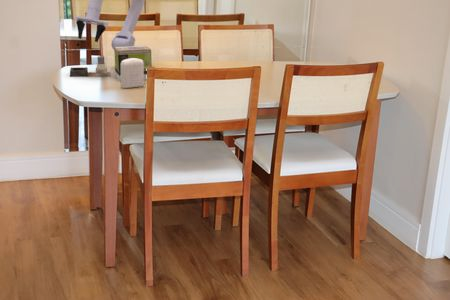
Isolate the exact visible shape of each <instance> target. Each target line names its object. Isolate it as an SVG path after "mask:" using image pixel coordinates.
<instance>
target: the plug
mask: <svg viewBox="0 0 450 300" xmlns="http://www.w3.org/2000/svg"><path fill="white" fill-rule="evenodd" d="M106 65H107V64H106V62H105V55H104V56H103V55H102V56H99V55H98V56H97V62H96V67H97V70H106V67H107V66H106Z"/></svg>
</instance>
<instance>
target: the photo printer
mask: <svg viewBox="0 0 450 300" xmlns="http://www.w3.org/2000/svg"><path fill="white" fill-rule="evenodd" d="M144 82H145V80H144V63H143V60H141V59H138V58H129V59H125V60H123V61H121V81H120V88H122V89H129V88H139V87H144V85H145V83H144Z"/></svg>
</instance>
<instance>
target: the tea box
mask: <svg viewBox="0 0 450 300" xmlns="http://www.w3.org/2000/svg"><path fill="white" fill-rule="evenodd" d="M113 50H114V51H113V52H114V72H115V77H116V79H117V80H118V81H119V82H121V61H123V60H125V59H129V58H138V59H141V60H143V63H144V81H147V80H146V75H147V71H146V68H147V67H153V66H152V64H153V63H152V62H153V61H152V49H151V48H150V47H149V46H148V45H134V46H127V47H114V49H113Z"/></svg>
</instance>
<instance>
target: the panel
mask: <svg viewBox="0 0 450 300" xmlns="http://www.w3.org/2000/svg"><path fill="white" fill-rule="evenodd" d="M88 70H89V69H88V67H87V66H86V67H79V66H78V67H70V69H69V77H70V78H84V77H85V78H90V77H91V78H96V77H97V78H98V77H101V78H102V77H103V78H106V77H107V78H109V77H111V72H110V71H108V67H107V66H106V70H97V66H96V67H95V72H93V71H90V72H88Z"/></svg>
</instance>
